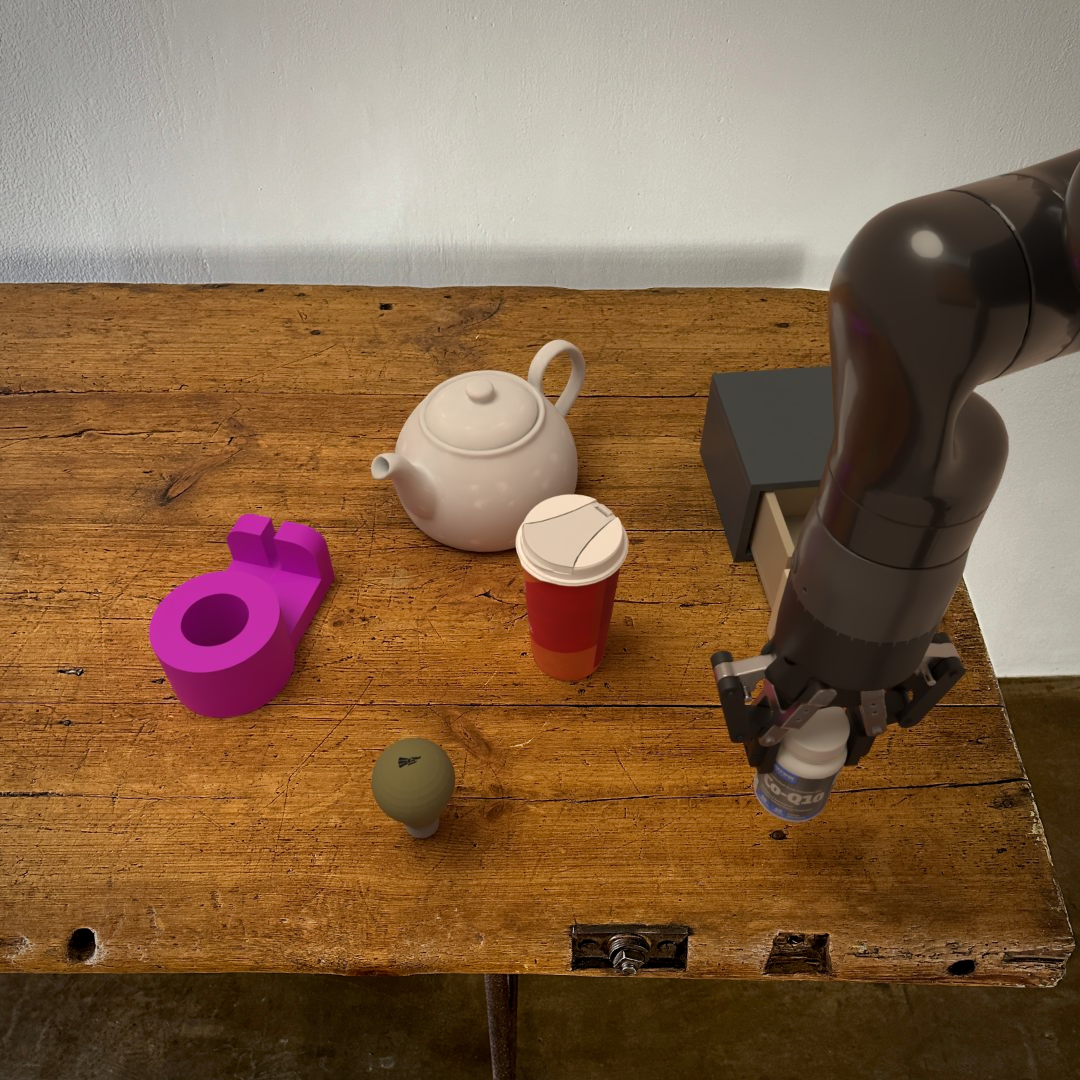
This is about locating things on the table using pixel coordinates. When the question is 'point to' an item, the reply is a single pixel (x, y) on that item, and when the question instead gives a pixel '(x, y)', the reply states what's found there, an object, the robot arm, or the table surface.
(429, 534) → the teapot
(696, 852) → the table surface
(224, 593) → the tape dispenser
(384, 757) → the light bulb
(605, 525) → the coffee cup
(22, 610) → the table surface
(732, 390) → the cabinet
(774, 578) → the storage drawer
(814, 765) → the pill bottle
